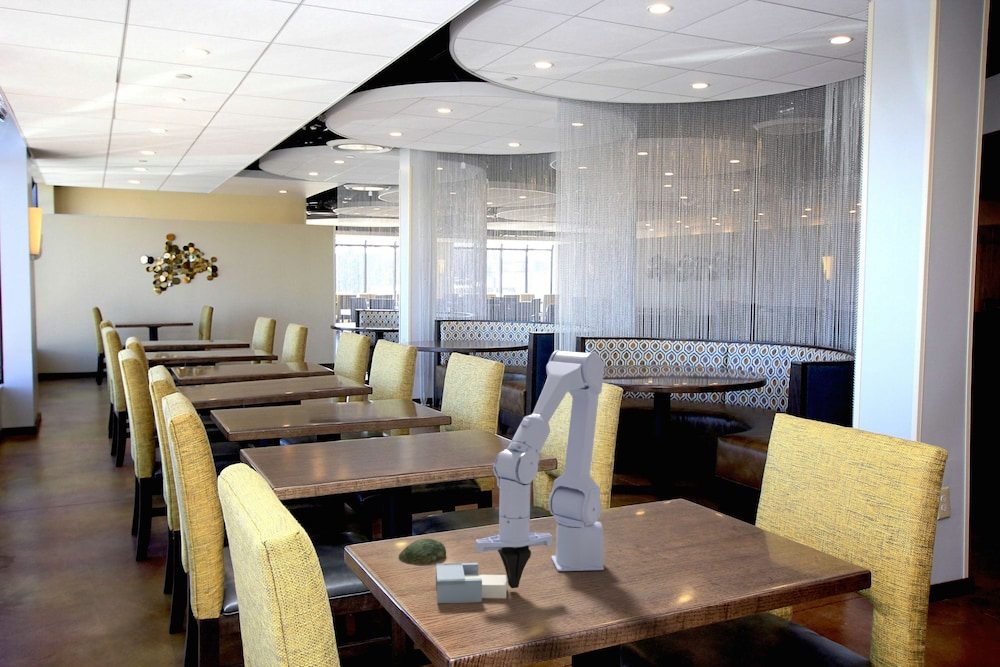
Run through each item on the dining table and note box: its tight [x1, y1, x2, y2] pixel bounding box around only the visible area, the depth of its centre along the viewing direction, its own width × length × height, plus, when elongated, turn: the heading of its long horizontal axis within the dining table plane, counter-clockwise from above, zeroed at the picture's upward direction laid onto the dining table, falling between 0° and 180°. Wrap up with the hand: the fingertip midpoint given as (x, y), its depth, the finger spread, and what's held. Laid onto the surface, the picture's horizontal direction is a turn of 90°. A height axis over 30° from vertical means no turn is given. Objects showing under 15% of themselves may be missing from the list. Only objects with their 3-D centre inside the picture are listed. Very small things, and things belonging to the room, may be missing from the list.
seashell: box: [398, 538, 447, 565], centre depth 163 cm, size 10×4×10 cm
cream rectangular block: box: [464, 574, 508, 599], centre depth 144 cm, size 8×5×3 cm, turn 91°
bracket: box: [435, 562, 483, 604], centre depth 144 cm, size 8×9×4 cm
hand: (513, 586), depth 145 cm, fingers closed
